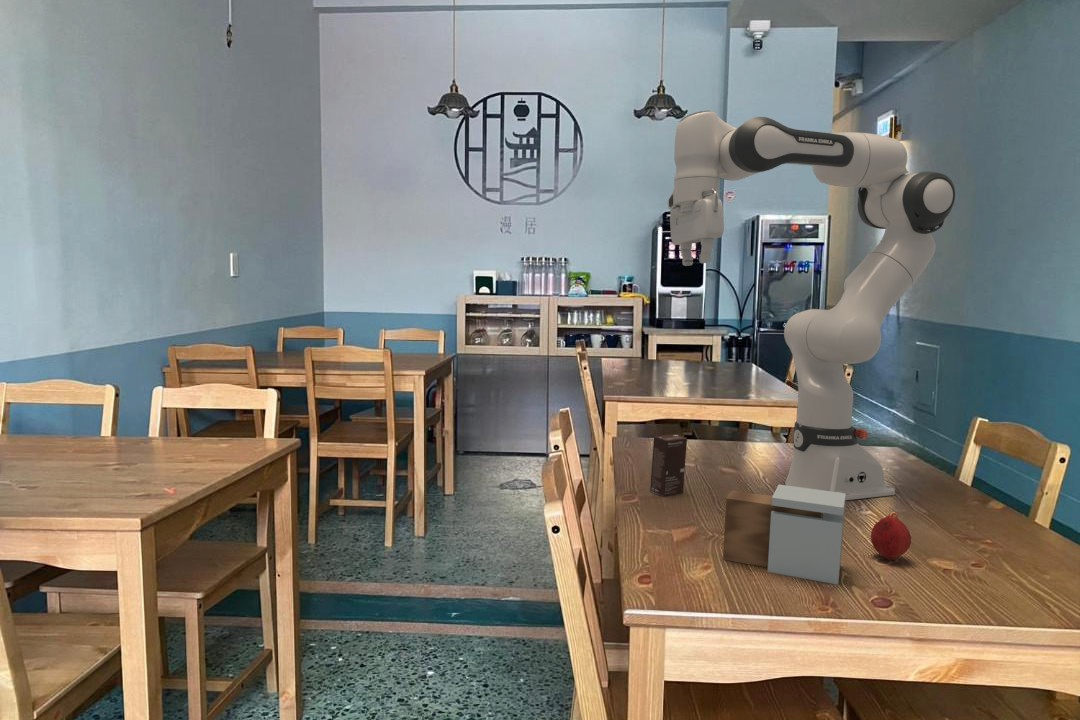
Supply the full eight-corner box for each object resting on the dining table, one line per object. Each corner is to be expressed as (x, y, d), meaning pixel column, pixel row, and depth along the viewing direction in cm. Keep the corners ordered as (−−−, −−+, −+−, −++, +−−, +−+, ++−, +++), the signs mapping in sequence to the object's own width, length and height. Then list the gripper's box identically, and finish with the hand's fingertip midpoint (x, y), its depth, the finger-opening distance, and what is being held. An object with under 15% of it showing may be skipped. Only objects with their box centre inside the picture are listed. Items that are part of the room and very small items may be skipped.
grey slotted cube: (767, 572, 110) (771, 497, 109) (774, 555, 117) (778, 484, 116) (838, 585, 106) (843, 507, 104) (840, 566, 113) (845, 493, 112)
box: (664, 497, 148) (666, 440, 147) (649, 492, 152) (651, 435, 150) (685, 493, 151) (688, 437, 150) (670, 488, 155) (672, 433, 154)
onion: (890, 569, 112) (894, 519, 112) (861, 556, 118) (864, 508, 117) (917, 564, 115) (921, 515, 114) (886, 551, 120) (890, 505, 119)
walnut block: (723, 559, 114) (726, 498, 113) (728, 549, 119) (732, 490, 118) (817, 576, 108) (821, 512, 107) (819, 565, 113) (823, 503, 112)
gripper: (732, 187, 135) (732, 261, 136) (693, 202, 155) (692, 266, 156) (700, 186, 134) (700, 261, 135) (665, 201, 154) (665, 266, 155)
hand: (696, 264), depth 146 cm, fingers open, 8 cm apart
